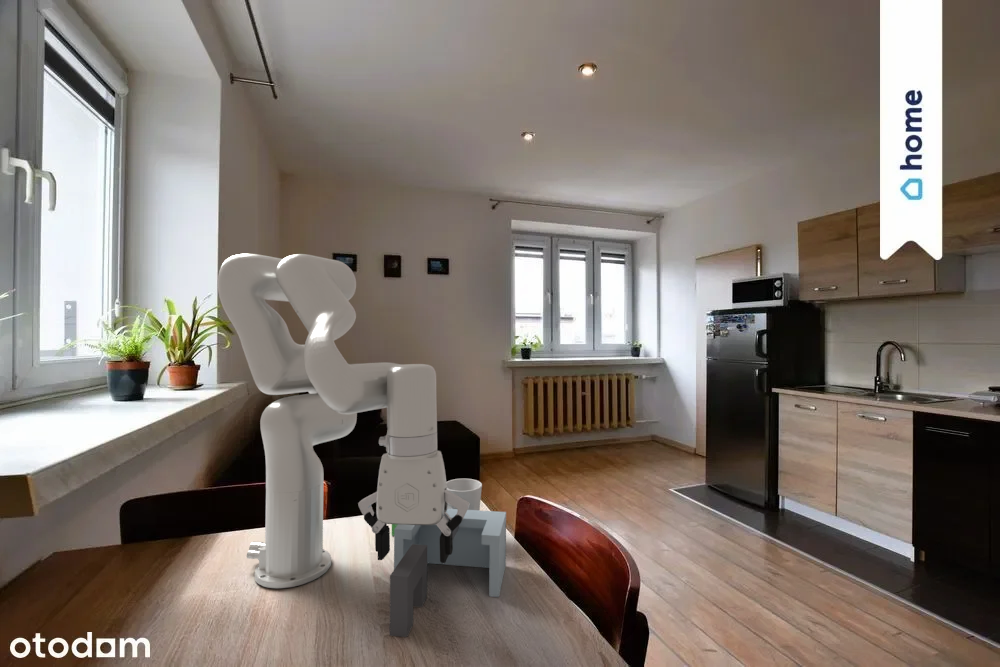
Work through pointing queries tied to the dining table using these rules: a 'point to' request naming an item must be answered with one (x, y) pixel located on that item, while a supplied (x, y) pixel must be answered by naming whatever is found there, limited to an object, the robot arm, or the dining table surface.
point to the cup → (466, 491)
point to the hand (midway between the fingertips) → (414, 557)
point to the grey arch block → (407, 589)
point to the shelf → (462, 543)
